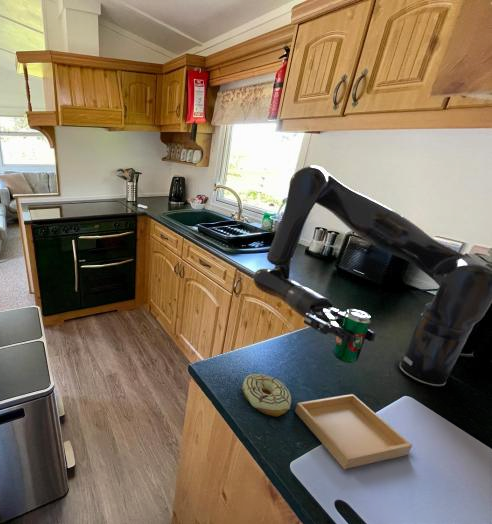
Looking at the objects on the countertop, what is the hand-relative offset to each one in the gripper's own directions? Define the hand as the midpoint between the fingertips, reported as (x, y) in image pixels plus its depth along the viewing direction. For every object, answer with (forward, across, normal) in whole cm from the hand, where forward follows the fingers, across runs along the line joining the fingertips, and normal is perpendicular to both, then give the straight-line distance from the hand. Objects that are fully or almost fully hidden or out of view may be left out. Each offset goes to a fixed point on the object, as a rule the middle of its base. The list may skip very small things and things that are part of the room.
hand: (362, 338), depth 64 cm
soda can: (-3, 0, +7) cm, 8 cm away
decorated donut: (-3, -19, +17) cm, 26 cm away
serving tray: (+8, -7, +17) cm, 20 cm away
